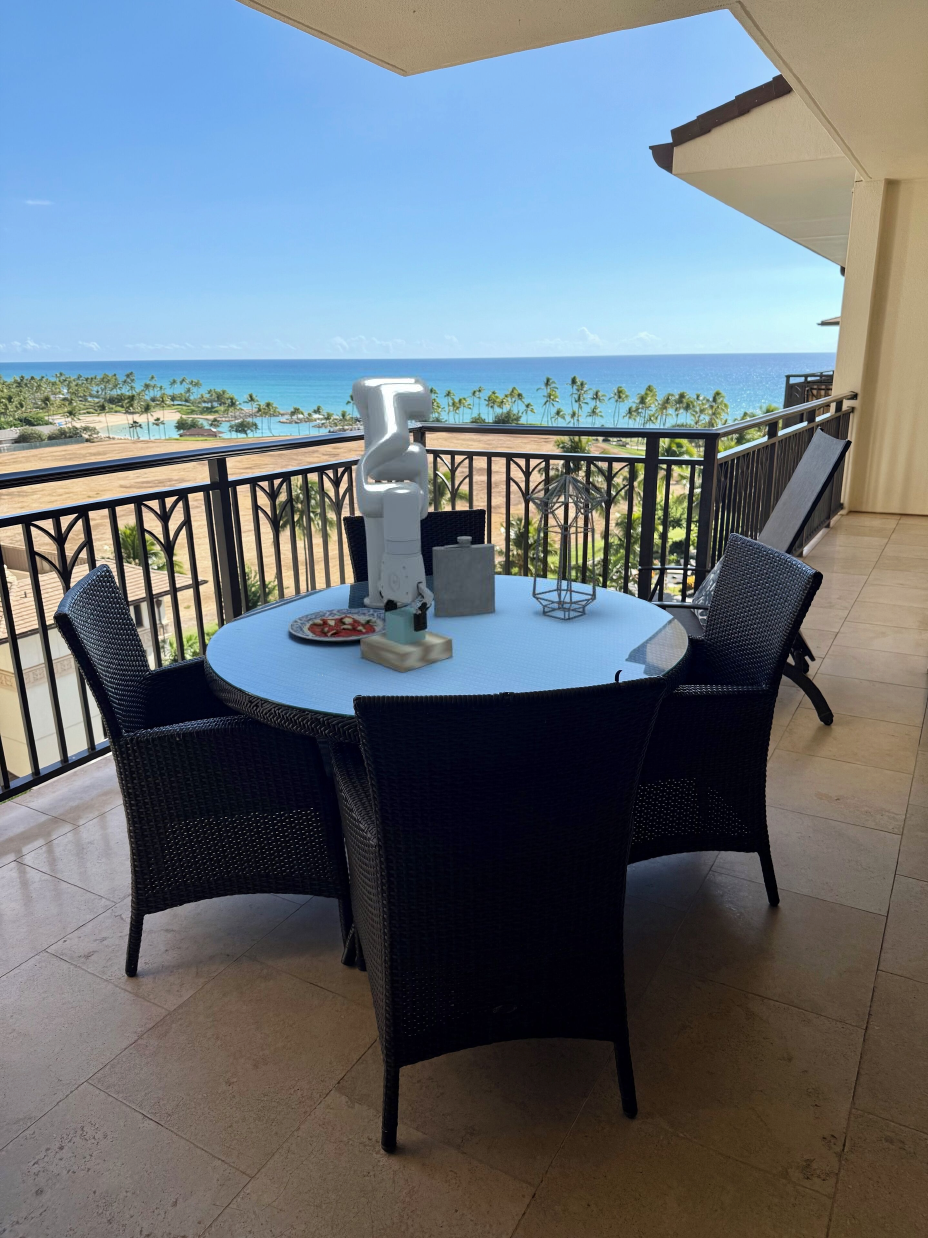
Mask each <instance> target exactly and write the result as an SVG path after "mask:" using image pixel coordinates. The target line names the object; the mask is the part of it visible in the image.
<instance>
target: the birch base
mask: <svg viewBox="0 0 928 1238" xmlns="http://www.w3.org/2000/svg"><path fill="white" fill-rule="evenodd" d="M425 632H426V639H423V640H420V641H417V642H413V643H410V644H407V645H402V644H399V643H396V642H393V641H390V640H387V639H386V632H385V633H382V634H379V635H375V636H371V637H367V638H364V639H359V640H360V653H361V654H360V657H361V658H363V659H365V660H368V661H371V662H373V663H376V664H379V665H381V666H385V667H387V668H390V669H392V670H396V671H397V672H400V673H406V672H408V671H412V670H415V669H418V668H421V667H424V666H426V665H431V664H433V663H437V662H439V661H442V660H445V659H448V658H453V656H454V655H453V654H454V652H453V638H451V637H448V636H445V635H442V634H438V633H436V632H435V633H434V632H432V631H428V630H425Z"/></svg>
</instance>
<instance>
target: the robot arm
mask: <svg viewBox="0 0 928 1238" xmlns="http://www.w3.org/2000/svg"><path fill="white" fill-rule="evenodd" d="M351 394H352V399H353V402H354V406H355V408H356V410H357V414H358V415H359V417H360V420H361V423H362V426H363V439H364V440H363V443H364V452H363V454H362V455H361V457H360V459H359V460H358V462H357V464H356V465H357V466H356V469H355V473H354V474H355V476H354V482H355V483H354V484H355V485H354V486H355V495H356V496H355V498H356V504H357V509H358V512H359V513H360V515H361V516H362V517H363V520H364V526H365V527H364V529H365V537H366V554H367V555H366V557H367V573H368V574H367V575H368V579H367V580H368V595H369V596H367V597H365V598H364V599H363V605H365V606H366V607H368V608H372V609H381V610H384V611H383V612H384V614H385V612H389V611H393V610H397V609H399V608H404V607H407V605H410V604H411V606H412V609H414V610H415V612H416V613H414V615H413V616H414V631H415V632H419V631H422V630H425V631H427V629H428V612H429V610H430V608H431V607H432V604H433V601H434V592H432V591H431V590H430V589H429V588H428V587H427V582H426V573H425V572H426V570H425V565H424V564H425V563H424V558H423V555H422V541H421V540H422V539H421V520H423V519H425V518H426V517H427V516H428V512H429V507H430V506H429V503H430V502H429V501H430V500H429V499H430V498H429V497H430V495H429V460H428V459H429V457H428V454H427V451H426V448H425V446H424V445H423V444H421V443H419V442H416V441H413V442H412V441H411V438H410V430H409V422H408V421H426V420H428V419H429V418H430V416H431V415H432V411H433V399H432V398H433V397H432V394H431V390H430V388H429V386H428V384H427V383H426V381H424V379H423V378H421V377H420V376H370V377H368V376H367V377H362V378H359V379H356V380H355V381H354V382H353V384H352V388H351ZM368 478H370V480H373V481H379V482H369V479H368ZM418 603H419V604H420V605H419V604H418ZM385 622H386V621H385Z"/></svg>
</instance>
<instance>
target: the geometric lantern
mask: <svg viewBox="0 0 928 1238" xmlns="http://www.w3.org/2000/svg"><path fill="white" fill-rule="evenodd" d="M569 483H570V484H569ZM553 485H554V486H553ZM570 485H571V490H572V491H571V492H572V493H570V492H569V491H570V490H569V489H570V487H569V486H570ZM551 486H553V487H552V488H551V489H550V490H549V491H548V492H547V494H545V496H535V495H537V494H538V493H541V492H542V491H544V490H547V489H548V488H550V487H551ZM582 486H583V487H585V488H586V489H588V490H590V491H592V492H593V493H594V494H596V495H598V496H590V494H589V493H588V492H587V491H586V490H585V489H584V488H583V487H582ZM564 487H565V493H563V490H564ZM560 488H561V490H560ZM559 490H560V492H559ZM554 491H555V492H554ZM552 493H553V494H552ZM551 494H552V496H550V495H551ZM563 495H565V500H560V498H561V497H562V496H563ZM556 497H557V498H556ZM555 498H556V499H555ZM569 498H570V500H572V501H569ZM576 498H577V499H578V500H576ZM548 499H549V500H548ZM554 499H555V500H554ZM609 499H610V498H609V497H608V496H606V495H605V494H603V493H602V492H599V491H598V490H597V489H595V488H593V487H591V486H590V485H588V484H587V483H585V482H584V481H582V480H581V479H580V478H577V477H575V476H574V475H572V474H571V475H570V474H563V476H561V477H559V478H558V479H556V480H554V481H553V482H551V483H549V484H546V485H545V486H543V487H542V488H540V489H538V490H535V491H534V492H533V493H530V494H529V495H527V496H526V500H528V501H530V502H531V504H532V505H533V506H535V507H536V508H537V510H539V511H540V512H541V514H540V517H539V520H538V524H537V527H536V530H537V531H536V544H535V546H536V548H535V563H534V572H533V573H534V575H533V585H532V594H531V596H532V598H534V599H535V600H536V601H537V602H538V603H539V604H540V606H542V613H541V614H542V615H544V616H547V617H550V618H554V619H557V620H558V619H559V620H564V621H569V620H572V619H575V618H578V617H581V616H583V615H586V608H587V606H589V605H591V604H592V603H593V602H594V601H596V600H597V588H596V586H597V585H596V560H595V558H596V557H595V555H596V554H595V551H596V549H595V546H596V545H595V544H596V542H595V540H596V539H595V538H596V537H595V535H596V528H595V524H594V514H593V512H594V511H595V510H596V509H597V508H598V507H599V506H601V505H602V504H603V503H604V502H605V501H607V500H609ZM538 501H539V502H538ZM545 503H548V506H546V507H545ZM556 504H557V505H558V504H559V505H558V506H556ZM566 504H573V505H574V507H575V508H576V510H577V512H576V514H575V515H574V517H573V519H572V520H571V521H570V523H569V524H563V523H562V522H561V519H559V517H558V515H557V514H556V511H557V510H559V509H561V507H564V505H566ZM586 504H587V505H590V507H589V508H587V507H585V505H586ZM555 506H556V507H555ZM545 510H549V511H545ZM544 515H552V517H553V520H554V521H555V524H556V525H550V526H549V525H548V526H542V525H543V518H544ZM586 515H587V517H588V523H589V526H590V527H587V526H586V527H585V526H579V525H575V523H576V522H577V520H578V519H579V517H580V516H586ZM557 527H558V528H559V530H560V531H555V530H549V529H551V528H557ZM564 528H568V529H567V531H564ZM572 528H579V529H585V530H583V531H581V530H580V531H576V532H575V531H574V532H571V529H572ZM547 529H548V530H547ZM586 529H587V530H586ZM542 532H546V533H547V532H548V533H554V534H560V540H559V554H558V564H557V565H558V567H557V579H556V588H553V589H549V590H546V591H541V592H537V590H536V589H537V575H538V564H539V563H538V561H539V552H540V545H541V543H540V542H541V533H542ZM590 532H591V554H592V555H591V556H592V558H591V559H592V564H591V565H592V567H591V569H592V577H591V578H592V581H591V582H592V593H588V592H584V591H579V590H574V589H573V588H572V587H573V584H572V535H575V534H576V535H577V534H585V533H590ZM564 535H567V565H566V566H567V569H566V571H567V572H566V588H562V586H563V585H562V584H563V583H562V582H563V561H564V560H563V559H564V558H563V557H564V556H563V555H564ZM554 592H556V593H557V598H558V600H557V601H556V600H552V599H549V598H544V597H540V595H544V594H549V593H554ZM562 592H565V594H564V596H563V599H562ZM568 593H569V601H566V597H567V594H568ZM573 593H575V594H579V595H584V596H589V597H590V598H589V597H588V598H584V599H583V598H582V599H578V600H573ZM541 601H544V602H548V603H547V604H546V603H545V604H543V603H542V602H541ZM582 602H585V603H584V604H582ZM554 604H556V605H557V607H553V606H551V605H554ZM565 605H569V606H568V607H564V606H565ZM572 605H575V606H579V607H574V608H572ZM547 608H548V609H550V610H546V609H547ZM580 609H582V610H580ZM553 611H560V612H563V617H559V616H556V615H552V614H547V613H550V612H553ZM571 611H573V612H576V611H577V613H580V614H577V615H575V616H571V615H570V614H571ZM567 612H568V613H567ZM566 613H567V614H568V615H567V616H568V617H567V618H566Z"/></svg>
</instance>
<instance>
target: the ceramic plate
mask: <svg viewBox="0 0 928 1238" xmlns="http://www.w3.org/2000/svg"><path fill="white" fill-rule="evenodd" d="M288 630H289V632H290V633H292V634H293V635H295V636H297V637H300V638H304V639H308V640H315V641H323V642H331V643H334V642H335V643H336V642H337V643H338V642H340V643H341V642H353V641H358V640H361V639H364V638H368V637H371V636H375V635H379V634H382V633H386V622H385V614H384V611H382V610H377V609H369V608H335V609H327V610H320V611H316V612H315V611H314V612H311V613H308V614H304V615H301V616H299V617H297V618H295V619H294V620H292V621H291V622H290V623H289V625H288Z"/></svg>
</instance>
